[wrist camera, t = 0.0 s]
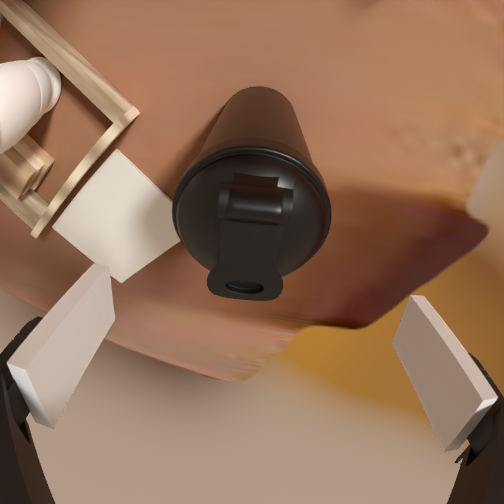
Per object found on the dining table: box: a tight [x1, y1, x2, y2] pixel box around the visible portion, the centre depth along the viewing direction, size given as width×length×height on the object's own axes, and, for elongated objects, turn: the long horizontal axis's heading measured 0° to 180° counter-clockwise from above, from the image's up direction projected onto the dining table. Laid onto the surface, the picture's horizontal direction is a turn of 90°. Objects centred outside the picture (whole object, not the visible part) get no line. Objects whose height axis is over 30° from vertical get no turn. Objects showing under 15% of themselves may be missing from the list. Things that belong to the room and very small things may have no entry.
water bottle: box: [172, 86, 331, 301], centre depth 26 cm, size 10×10×23 cm
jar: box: [0, 57, 61, 154], centre depth 25 cm, size 11×10×15 cm
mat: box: [52, 149, 180, 283], centre depth 46 cm, size 20×16×1 cm
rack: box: [0, 0, 140, 239], centre depth 30 cm, size 24×28×6 cm
